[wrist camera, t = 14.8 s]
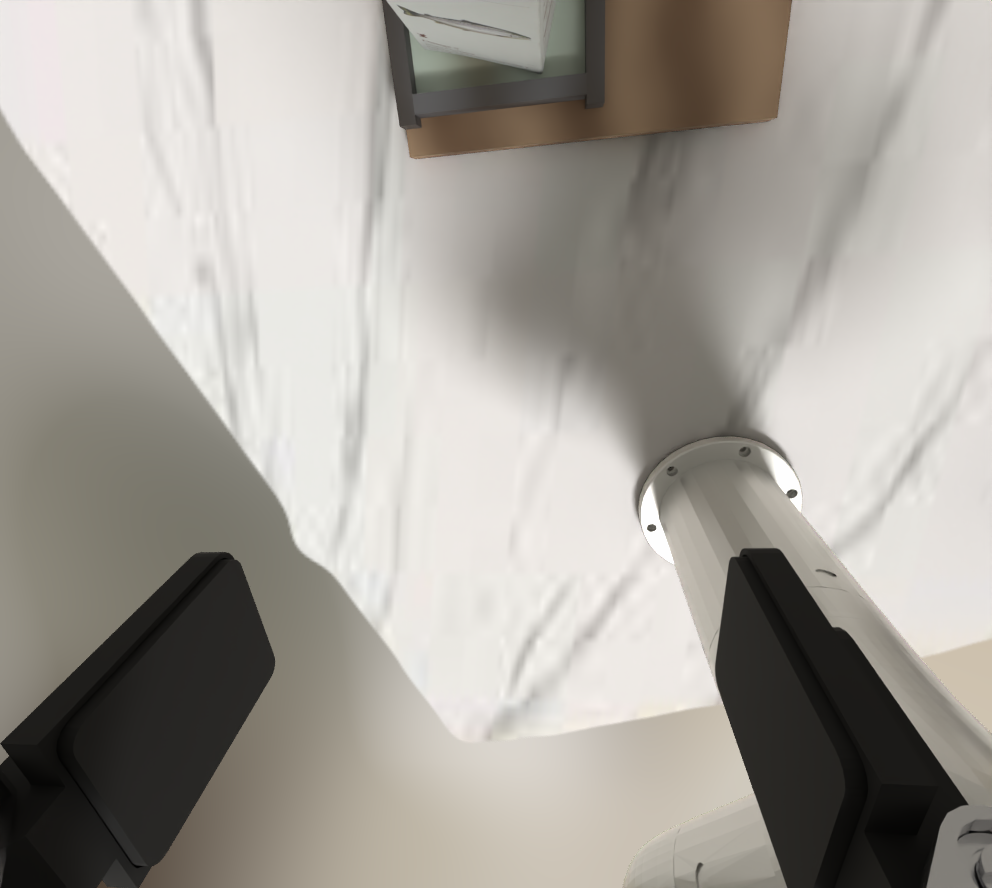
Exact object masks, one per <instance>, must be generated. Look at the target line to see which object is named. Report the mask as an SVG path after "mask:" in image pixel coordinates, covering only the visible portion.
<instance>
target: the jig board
mask: <svg viewBox="0 0 992 888" xmlns="http://www.w3.org/2000/svg"><path fill="white" fill-rule="evenodd" d="M382 3H383V10H384V17H385V24H386V32H387V39H388V46H389V53H390V60H391V67H392V75H393V82H394V89H395V96H396V103H397V110H398V117H399V125H400V127H402V128H404V129H406V132H407V139H408V147H409V154H410V157H411V158H414V159H421V158H431V157H440V156H449V155H459V154H468V153H477V152H487V151H496V150H505V149H515V148H524V147H533V146H543V145H552V144H561V143H571V142H580V141H589V140H599V139H608V138H617V137H627V136H636V135H645V134H655V133H664V132H673V131H683V130H692V129H701V128H711V127H720V126H729V125H739V124H748V123H757V122H767V121H770V120H772V119H775V118H777V114H778V106H779V98H780V91H781V83H782V75H783V67H784V59H785V51H786V43H787V35H788V27H789V20H790V12H791V4H792V0H556V5H555V10H554V16H553V21H552V26H551V31H550V36H549V42H548V47H547V52H546V57H545V63H544V68H543V72H542V74H538V73H534V72H531V71H527V70H523V69H519V68H515V67H511V66H507V65H503V64H498V63H494V62H490V61H485V60H481V59H476V58H472V57H467V56H462V55H456V54H451V53H445V52H438V51H432V50H425V49H424V48H423V47H422V46H421V45H420V43H419V42H418V41H417V40H416V38H415V37H414V36H413V35H412V33H411V32H410V31H409V29H408V28H407V27H406V26H405V24H404V23H403V22H402V20H401V19H400V18H399V17H398V15H397V14H396V13H395V11H394V10H393V9H392V7H391V6H390V5H389V4H388V2H387V1H386V0H382Z"/></svg>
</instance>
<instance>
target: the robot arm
mask: <svg viewBox="0 0 992 888" xmlns="http://www.w3.org/2000/svg"><path fill="white" fill-rule="evenodd" d="M741 448H743V449H741ZM669 467H672V468H669ZM801 509H802V490H801V485H800V481H799V479H798V477H797V475H796V473H795V471H794V469H793V468H792V467H791V466H790V465H789V464H788V462H787V461H786V460H785V459H784V458H783V457H782V456H781V455H780V454H778V453H777V452H776V451H775V450H773V449H772V448H770V447H768V446H766V445H765V444H763V443H760V442H757V441H754V440H751V439H748V438H741V437H734V436H729V437H713V438H708V439H703V440H699V441H697V442H694V443H691V444H688V445H686V446H684V447H682V448H680V449H678V450H677V451H675V452H673V453H671V454H670V455H669V456H668V457H666V458H665V459H664V460H663V461H661V462H660V463H659V464H658V465H657V467H656V468H655V469H654V470H653V471H652V472H651V473H650V475H649V477H648V479H647V480H646V482H645V484H644V486H643V489H642V492H641V494H640V497H639V507H638V512H639V520H640V524H641V528H642V531H643V533H644V535H645V537H646V539H647V541H648V543H649V544H650V545H651V547H652V548H653V549H654V550H655V551H656V553H658V554H659V555H660V556H662V557H663V558H664V559H665V560H667V561H669V562H671V563H673V564H674V566H675V569H676V572H677V575H678V577H679V580H680V583H681V586H682V589H683V592H684V595H685V598H686V601H687V604H688V607H689V609H690V612H691V615H692V618H693V621H694V624H695V627H696V630H697V633H698V636H699V638H700V641H701V644H702V647H703V650H704V653H705V656H706V659H707V662H708V665H709V668H710V670H711V673H712V676H713V678H714V681H715V684H716V687H717V689H718V692H719V694H720V696H721V698H722V701H723V704H724V707H725V709H726V713H727V715H728V718H729V721H730V724H731V727H732V730H733V733H734V736H735V739H736V741H737V744H738V747H739V750H740V753H741V756H742V759H743V761H744V765H745V767H746V770H747V773H748V776H749V779H750V782H751V785H752V788H753V791H754V793H753V794H751V795H748V796H746V797H743V798H741V799H738V800H736V801H734V802H731V803H729V804H727V805H724V806H721V807H719V808H717V809H714V810H712V811H709V812H707V813H704V814H702V815H700V816H697V817H695V818H692V819H690V820H688V821H686V822H684V823H682V824H679V825H677V826H675V827H672V828H670V829H669V830H666V831H665V832H663V833H661V834H659V835H657V836H656V837H654V838H653V839H651V840H650V841H649V842H647V843H646V844H645V845H644V846H643V847H642V848H641V849H640V850H639V851H638V852H637V854H636V855H635V857H634V858H633V860H632V861H631V863H630V865H629V868H628V870H627V873H626V876H625V879H624V883H623V888H992V734H991V733H990V732H989V731H988V730H987V729H986V728H985V727H984V726H983V725H982V724H981V723H980V722H979V720H978V719H976V717H974V716H973V714H972V713H971V712H970V711H969V710H968V709H967V708H966V707H965V706H964V705H963V704H962V703H961V702H960V701H959V700H958V699H957V698H956V697H955V696H954V695H953V694H952V693H951V692H950V691H949V690H948V689H947V687H946V686H945V685H944V684H943V683H942V682H941V680H940V679H939V678H938V677H937V676H936V675H935V674H934V673H933V671H932V670H931V669H930V668H929V667H928V666H927V665H926V664H925V662H924V661H923V660H922V659H921V658H920V657H919V655H918V654H917V653H916V652H915V651H914V650H913V649H912V647H911V646H910V645H909V644H908V643H907V642H906V640H905V639H904V638H903V637H902V635H901V634H900V633H899V632H898V631H897V629H896V628H895V627H894V626H893V625H892V623H891V622H890V621H889V620H888V618H887V617H886V616H885V615H884V614H883V612H882V611H881V610H880V609H879V608H878V607H877V606H876V604H875V603H874V602H873V601H872V599H871V598H870V597H869V596H868V595H867V593H866V592H865V591H864V590H863V588H862V587H861V586H860V585H859V583H858V582H857V581H856V580H855V579H854V577H853V576H852V575H851V574H850V572H849V571H848V570H847V569H846V568H845V566H844V565H843V564H842V563H841V561H840V560H839V559H838V558H837V556H836V555H835V554H834V553H833V552H832V550H831V549H830V548H829V547H828V545H827V544H826V543H825V542H824V540H823V539H822V538H821V537H820V536H819V534H818V533H817V532H816V531H815V529H814V528H813V527H812V526H811V525H810V523H809V522H808V521H807V520H806V518H805V517H804V516H803V515H802V513H801ZM274 667H275V657H274V654H273V651H272V648H271V646H270V643H269V640H268V637H267V635H266V632H265V629H264V626H263V624H262V621H261V618H260V615H259V613H258V610H257V607H256V604H255V602H254V599H253V596H252V593H251V591H250V588H249V585H248V582H247V580H246V577H245V574H244V571H243V569H242V566H241V564H240V563H239V562H238V561H237V560H234V558H233V556H232V555H231V554H229V553H226V552H201V553H196V554H195V555H193V556H192V557H191V558H190V559H189V560H188V561H187V562H186V563H185V564H184V565H183V566H182V567H180V568H179V569H178V571H176V573H174V574H173V575H172V576H171V577H170V578H169V579H168V580H167V581H166V582H165V583H164V584H163V585H162V586H161V587H160V588H159V589H158V590H157V591H156V592H155V593H154V594H153V595H152V596H151V597H150V598H149V599H148V600H147V601H146V602H145V603H144V604H143V605H142V606H141V607H140V608H138V609H137V611H136V612H134V613H133V614H132V615H131V616H130V617H129V618H128V619H127V620H126V621H125V622H124V623H123V624H122V625H121V626H120V627H119V628H118V629H117V630H116V631H115V632H114V633H113V634H112V635H111V636H110V637H109V638H108V639H107V640H106V641H105V642H104V643H103V644H102V645H101V646H100V647H99V648H98V649H97V650H95V652H93V653H92V654H91V655H90V656H89V657H88V658H87V659H86V660H85V661H84V662H83V663H82V664H81V665H80V666H79V667H78V668H77V669H76V670H75V671H74V672H73V673H72V674H71V675H70V676H69V677H68V678H67V679H66V680H65V681H64V682H63V683H62V684H61V685H60V686H59V687H58V688H57V689H56V690H55V691H53V693H51V694H50V696H48V697H47V698H46V699H45V700H44V701H43V702H42V703H41V704H40V705H39V706H38V707H37V708H36V709H35V710H34V711H33V712H32V713H31V714H30V715H29V716H28V717H27V718H26V719H25V720H24V721H23V722H22V723H21V724H20V725H19V726H18V727H17V728H16V729H15V730H14V731H12V733H10V734H9V735H8V736H7V737H6V738H5V739H4V740H3V741H2V742H1V743H0V744H1V745H2V747H3V748H4V749H5V750H6V752H7V753H8V755H9V757H8V758H7V759H6V760H5V761H4V762H3V763H2V764H1V765H0V888H97V887H98V885H99V884H100V882H101V881H102V880H103V882H104V883H105V884H106V886H107V887H117V888H139V887H140V885H141V883H142V882H143V880H144V878H145V877H146V875H147V873H148V872H149V870H150V868H151V867H152V866H154V865H156V864H157V863H159V862H160V861H161V860H162V858H163V857H164V856H165V854H166V853H167V851H168V850H169V848H170V846H171V845H172V843H173V841H174V840H175V838H176V836H177V835H178V833H179V831H180V830H181V828H182V826H183V825H184V823H185V821H186V819H187V818H188V816H189V814H190V813H191V811H192V809H193V808H194V806H195V804H196V803H197V801H198V799H199V798H200V796H201V794H202V793H203V791H204V789H205V788H206V786H207V784H208V782H209V781H210V779H211V777H212V776H213V774H214V772H215V771H216V769H217V767H218V766H219V764H220V762H221V761H222V759H223V757H224V755H225V754H226V752H227V750H228V749H229V747H230V745H231V744H232V742H233V740H234V739H235V737H236V735H237V734H238V732H239V730H240V729H241V727H242V725H243V724H244V722H245V720H246V718H247V717H248V715H249V713H250V712H251V710H252V708H253V707H254V705H255V703H256V702H257V700H258V698H259V697H260V695H261V693H262V692H263V689H264V688H265V686H266V685H267V683H268V681H269V680H270V678H271V676H272V674H273V671H274Z"/></svg>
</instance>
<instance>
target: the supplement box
mask: <svg viewBox="0 0 992 888" xmlns="http://www.w3.org/2000/svg"><path fill="white" fill-rule="evenodd" d="M386 1H387V2H388V4H389V5H390V6H391V7H392V9H393V10H394V11H395V13H396V14H397V15H398V17H399V18H400V19H401V20H402V22H403V23H404V24H405V26H406V27H407V28H408V29H409V31H410V32H411V33H412V35H413V36H414V37H415V38H416V40H417V41H418V42H419V43H420V45H421V46H422V47H423V48H424V49H425V50H432V51H438V52H445V53H451V54H456V55H462V56H467V57H472V58H476V59H481V60H485V61H490V62H494V63H498V64H503V65H507V66H511V67H515V68H519V69H523V70H527V71H531V72H534V73H538V74H542V72H543V68H544V63H545V57H546V52H547V47H548V42H549V36H550V31H551V26H552V21H553V16H554V10H555V5H556V0H386Z"/></svg>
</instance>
